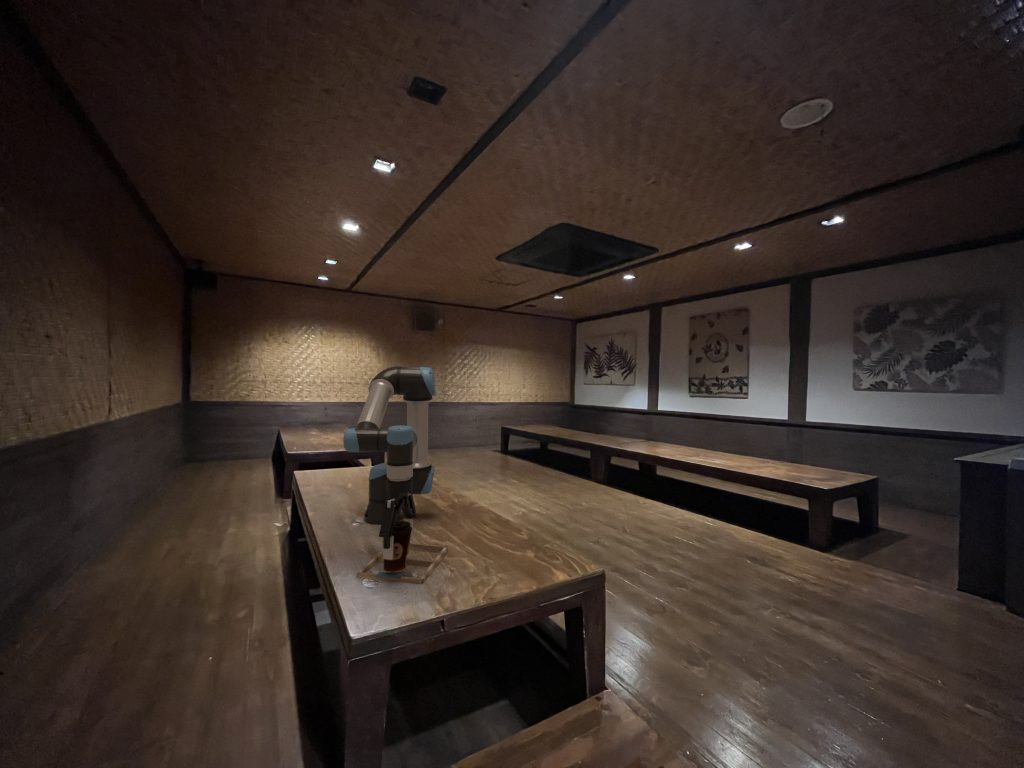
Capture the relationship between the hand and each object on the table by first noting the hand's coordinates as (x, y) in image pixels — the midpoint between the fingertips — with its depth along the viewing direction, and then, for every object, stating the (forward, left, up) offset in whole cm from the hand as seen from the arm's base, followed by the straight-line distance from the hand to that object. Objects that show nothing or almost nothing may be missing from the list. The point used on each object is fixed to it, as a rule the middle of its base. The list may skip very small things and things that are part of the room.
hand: (398, 548), depth 118 cm
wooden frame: (-5, 0, -7) cm, 9 cm away
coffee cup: (+3, +1, -5) cm, 6 cm away
